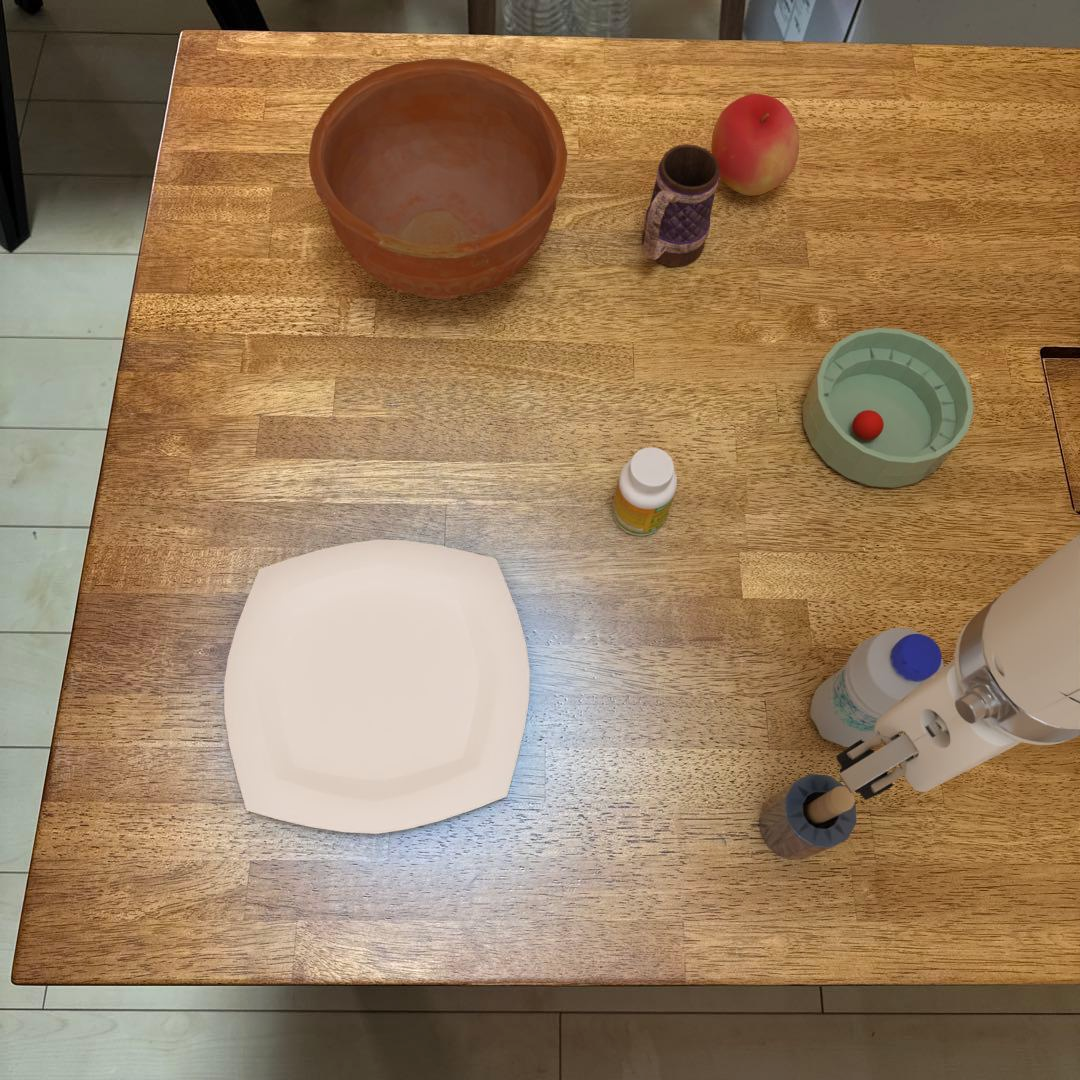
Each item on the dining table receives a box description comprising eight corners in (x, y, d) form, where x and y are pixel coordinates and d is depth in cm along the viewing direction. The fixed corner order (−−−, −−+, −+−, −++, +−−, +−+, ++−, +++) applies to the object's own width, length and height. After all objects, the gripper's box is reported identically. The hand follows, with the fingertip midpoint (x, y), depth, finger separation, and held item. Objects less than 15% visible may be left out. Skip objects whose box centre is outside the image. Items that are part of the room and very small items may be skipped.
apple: (696, 204, 115) (713, 137, 106) (709, 142, 119) (726, 72, 110) (780, 221, 115) (804, 155, 106) (790, 158, 119) (814, 89, 109)
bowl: (311, 331, 107) (283, 235, 93) (356, 151, 117) (336, 40, 103) (545, 359, 107) (551, 267, 93) (570, 175, 116) (579, 68, 103)
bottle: (891, 716, 92) (987, 651, 74) (846, 769, 90) (933, 715, 72) (833, 665, 94) (912, 589, 76) (787, 716, 92) (858, 650, 74)
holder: (821, 795, 89) (854, 776, 81) (824, 861, 87) (858, 849, 79) (758, 791, 89) (784, 771, 81) (759, 857, 87) (786, 844, 79)
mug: (663, 207, 115) (680, 125, 104) (716, 238, 114) (739, 159, 103) (612, 265, 112) (623, 187, 101) (665, 298, 110) (683, 222, 99)
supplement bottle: (650, 546, 98) (665, 503, 89) (602, 521, 99) (611, 475, 90) (675, 503, 100) (692, 457, 91) (627, 478, 101) (639, 430, 92)
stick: (803, 815, 88) (854, 786, 75) (803, 836, 87) (855, 811, 75) (782, 813, 88) (830, 785, 75) (783, 835, 87) (831, 809, 75)
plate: (237, 552, 97) (232, 544, 95) (521, 541, 98) (522, 532, 96) (219, 845, 86) (213, 842, 84) (537, 827, 88) (538, 824, 86)
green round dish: (941, 366, 108) (965, 333, 102) (955, 495, 102) (981, 467, 96) (798, 356, 108) (814, 322, 102) (804, 484, 102) (821, 455, 96)
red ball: (876, 420, 104) (886, 405, 101) (878, 446, 103) (889, 431, 100) (847, 418, 104) (856, 403, 101) (849, 444, 103) (858, 429, 100)
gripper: (954, 819, 47) (840, 860, 63) (1221, 645, 51) (1051, 724, 67) (856, 682, 50) (771, 754, 65) (1118, 526, 54) (978, 629, 69)
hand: (913, 739), depth 66 cm, fingers open, 9 cm apart
